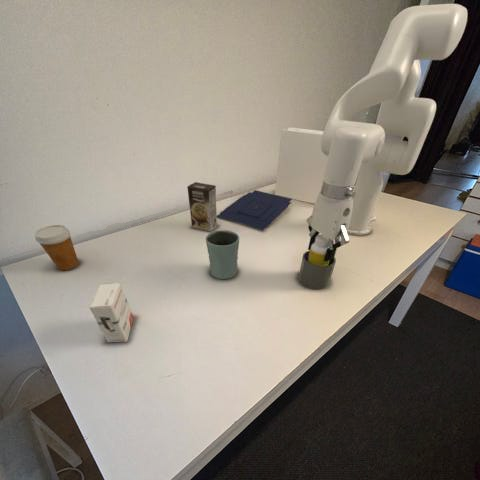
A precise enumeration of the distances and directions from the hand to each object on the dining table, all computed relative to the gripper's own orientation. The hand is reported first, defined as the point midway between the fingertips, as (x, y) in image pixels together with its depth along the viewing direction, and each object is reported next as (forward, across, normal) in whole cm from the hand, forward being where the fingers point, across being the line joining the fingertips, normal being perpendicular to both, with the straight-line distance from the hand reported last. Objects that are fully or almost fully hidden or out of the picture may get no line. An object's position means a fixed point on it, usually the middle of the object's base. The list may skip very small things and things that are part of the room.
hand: (320, 253), depth 77 cm
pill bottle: (+6, 0, 0) cm, 6 cm away
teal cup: (+9, +18, +23) cm, 31 cm away
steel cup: (+9, 0, 0) cm, 9 cm away
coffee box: (+10, +51, +15) cm, 54 cm away
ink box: (+9, +7, +58) cm, 59 cm away
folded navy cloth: (+10, +53, -12) cm, 55 cm away
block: (+10, +55, -45) cm, 71 cm away
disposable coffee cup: (+9, +46, +67) cm, 82 cm away
